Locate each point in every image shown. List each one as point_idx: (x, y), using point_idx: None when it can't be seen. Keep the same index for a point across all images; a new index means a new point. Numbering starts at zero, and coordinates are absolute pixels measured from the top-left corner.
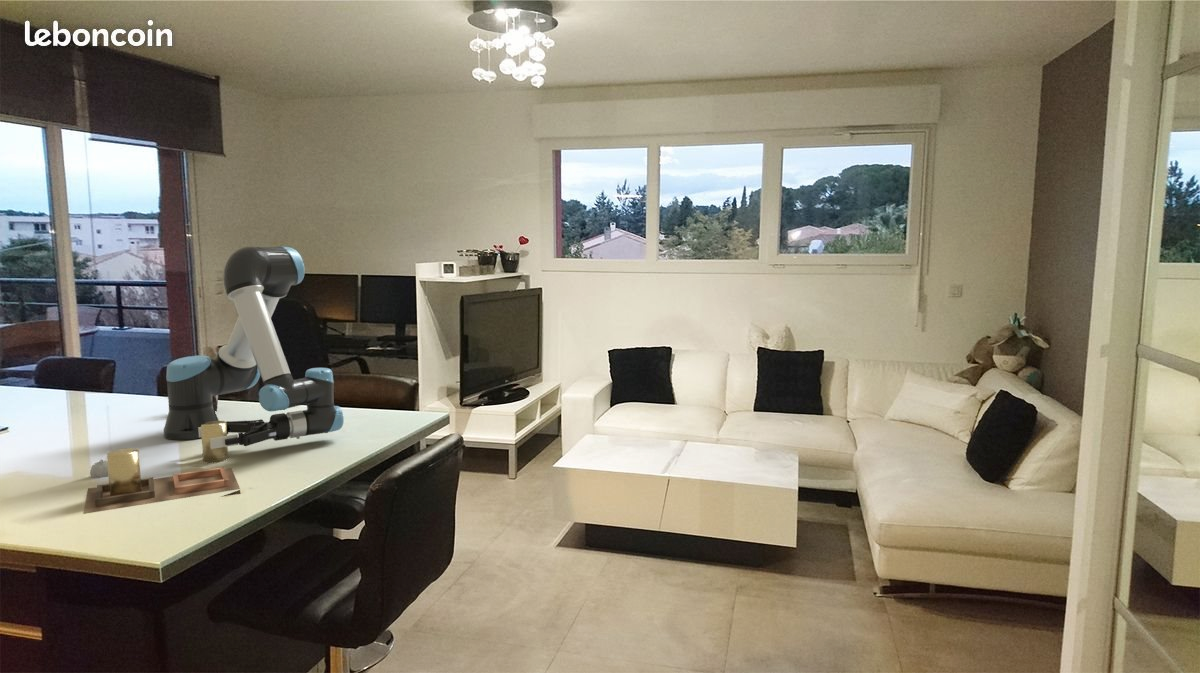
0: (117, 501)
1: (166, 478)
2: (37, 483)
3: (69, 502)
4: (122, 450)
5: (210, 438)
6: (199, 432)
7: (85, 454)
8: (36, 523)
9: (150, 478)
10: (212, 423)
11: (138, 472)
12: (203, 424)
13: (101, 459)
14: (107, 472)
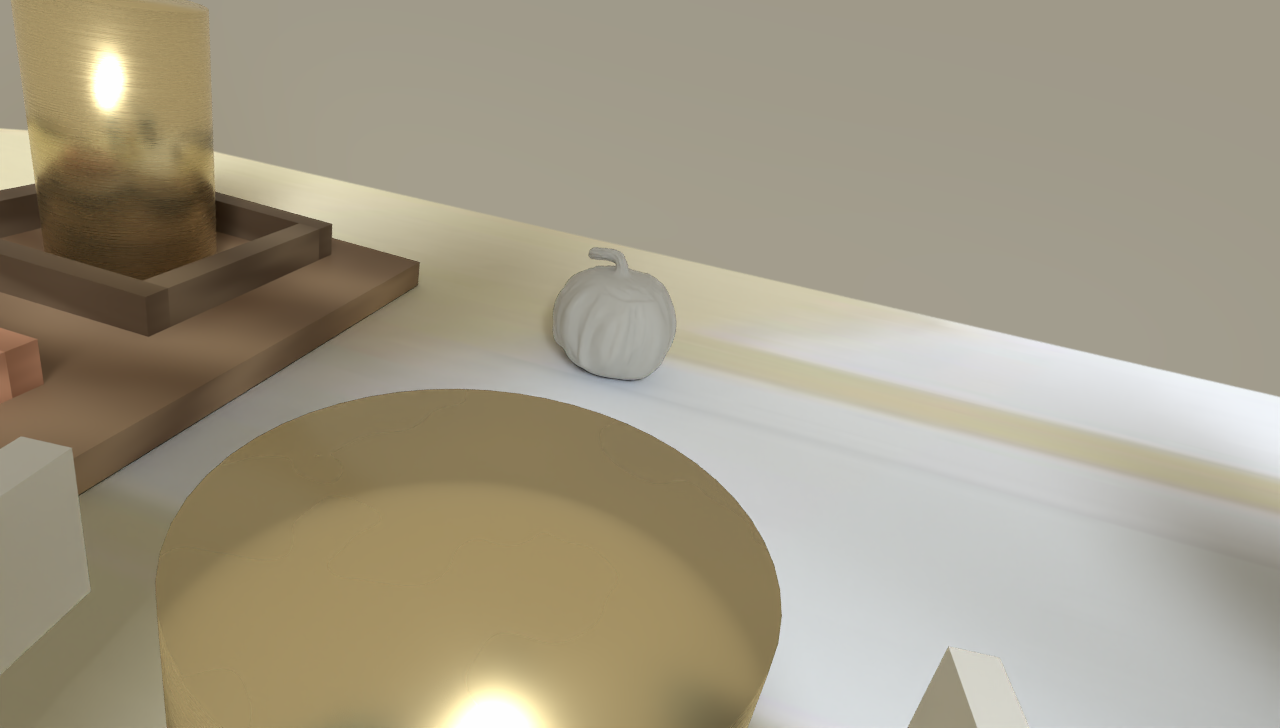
0: None
1: (149, 388)
2: (725, 296)
3: (366, 245)
4: (154, 4)
5: (49, 446)
6: (918, 710)
7: (1169, 477)
8: (243, 179)
9: (140, 285)
10: (543, 530)
11: (30, 129)
12: (594, 434)
13: (617, 253)
14: (553, 311)
